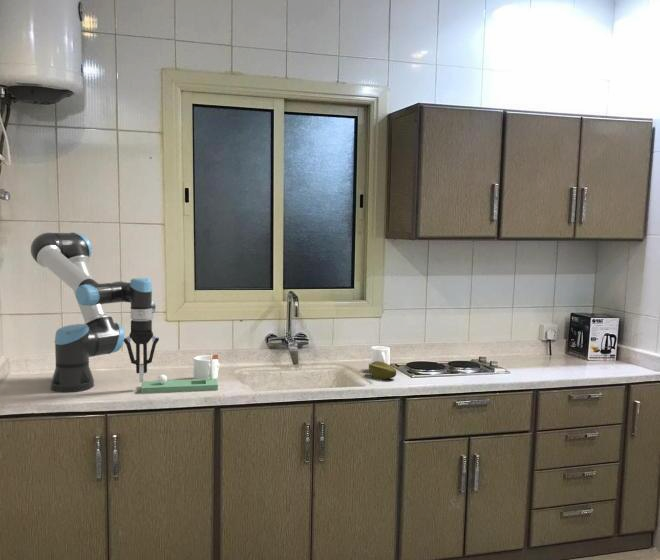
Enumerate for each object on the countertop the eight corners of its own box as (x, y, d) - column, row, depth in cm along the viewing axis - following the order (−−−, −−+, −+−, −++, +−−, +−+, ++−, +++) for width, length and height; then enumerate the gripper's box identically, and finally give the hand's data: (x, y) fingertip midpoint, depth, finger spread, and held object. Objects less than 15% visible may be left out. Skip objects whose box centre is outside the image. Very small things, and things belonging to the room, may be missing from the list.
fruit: (369, 380, 248) (369, 365, 248) (368, 373, 260) (368, 358, 259) (396, 381, 248) (397, 365, 247) (394, 374, 260) (394, 359, 259)
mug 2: (392, 374, 259) (393, 351, 258) (373, 374, 258) (374, 351, 257) (387, 368, 271) (388, 346, 270) (369, 368, 270) (370, 346, 269)
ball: (157, 385, 225) (157, 375, 225) (157, 382, 229) (157, 373, 228) (167, 384, 226) (167, 375, 226) (167, 382, 230) (167, 373, 229)
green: (141, 393, 221) (140, 361, 220) (142, 386, 230) (142, 355, 229) (219, 389, 228) (219, 359, 227) (217, 383, 238) (217, 353, 237)
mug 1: (224, 382, 240) (224, 360, 239) (198, 385, 235) (198, 362, 234) (215, 375, 250) (215, 354, 249) (190, 378, 245) (191, 356, 245)
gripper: (122, 321, 218) (122, 384, 220) (159, 320, 221) (159, 383, 223) (123, 318, 225) (124, 379, 227) (159, 317, 229) (159, 378, 231)
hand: (141, 381), depth 225 cm, fingers closed
